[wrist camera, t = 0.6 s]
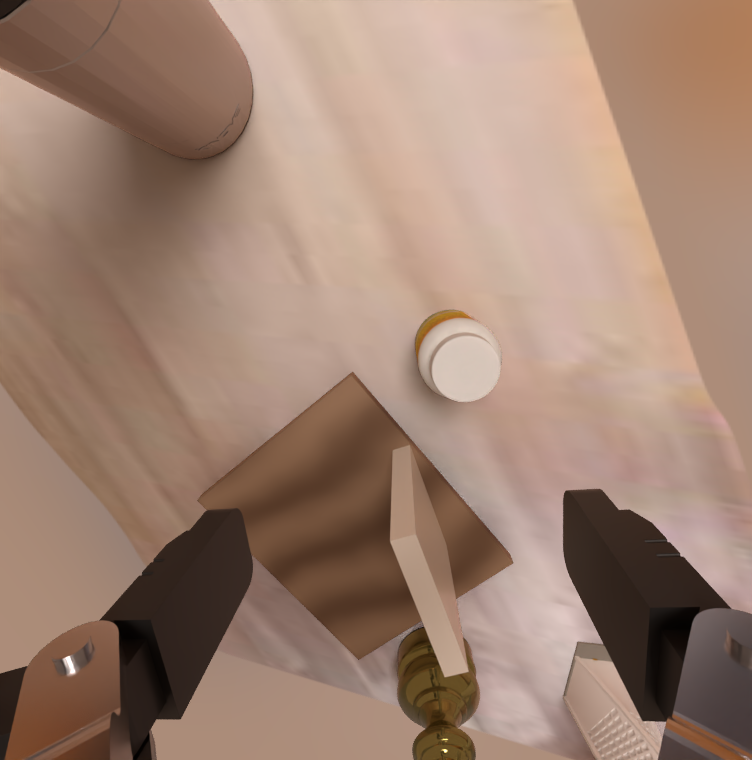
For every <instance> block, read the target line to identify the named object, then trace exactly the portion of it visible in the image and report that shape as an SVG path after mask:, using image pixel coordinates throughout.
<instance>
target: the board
mask: <svg viewBox="0 0 752 760" xmlns="http://www.w3.org/2000/svg"><path fill="white" fill-rule="evenodd" d="M408 445H410V447H411V449H412V452H413V455H414V457H415V460H416V463H417V466H418V468H419V471H420V474H421V477H422V479H423V482H424V485H425V487H426V490H427V493H428V496H429V498H430V501H431V504H432V507H433V509H434V512H435V515H436V518H437V520H438V523H439V526H440V528H441V531H442V534H443V537H444V539H445V542H446V545H447V550H448V556H449V562H450V568H451V573H452V579H453V585H454V590H455V596H456V599H457V598H458V597H460V596H461V595H463V594H465V593H466V592H468V591H469V590H471V589H473V588H474V587H476V586H477V585H479V584H481V583H482V582H484V581H485V580H487V579H489V578H490V577H492V576H493V575H495V574H497V573H498V572H500V571H501V570H503V569H505V568H506V567H508V566H509V565H511V564H513V561H512V558H511V555H510V554H509V552H508V551H507V550H506V549H505V548H504V547H503V545H502V544H501V543H500V542H499V541H498V540H497V538H496V537H495V536H494V535H493V534H492V533H491V532H490V530H489V529H488V528H487V527H486V526H485V525H484V523H483V522H482V521H481V520H480V519H479V518H478V516H477V515H476V514H475V513H474V512H473V511H472V509H471V508H470V507H469V506H468V505H467V504H466V503H465V501H464V500H463V499H462V498H461V497H460V496H459V494H458V493H457V492H456V491H455V490H454V489H453V487H452V486H451V485H450V484H449V483H448V482H447V481H446V479H445V478H444V477H443V476H442V475H441V474H440V472H439V471H438V470H437V469H436V468H435V467H434V465H433V464H432V463H431V462H430V461H429V460H428V459H427V457H426V456H425V455H424V454H423V453H422V452H421V450H420V449H419V448H418V447H417V446H416V445H415V443H414V442H413V441H412V440H411V439H410V438H409V437H408V435H407V434H406V433H405V432H404V431H403V430H402V428H401V427H400V426H399V425H398V424H397V423H396V421H395V420H394V419H393V418H392V417H391V416H390V414H389V413H388V412H387V411H386V410H385V409H384V408H383V406H382V405H381V404H380V403H379V402H378V401H377V399H376V398H375V397H374V396H373V395H372V394H371V392H370V391H369V390H368V389H367V388H366V387H365V386H364V384H363V383H362V382H361V381H360V380H359V379H358V377H357V376H356V375H355V374H354V373H353V372H352V373H350V374H349V375H348V376H347V377H346V378H344V379H343V380H342V381H341V382H339V383H338V384H337V385H336V386H334V387H333V388H332V389H331V390H330V391H328V392H327V393H326V394H325V395H323V396H322V397H321V398H320V399H319V400H317V401H316V402H315V403H314V404H312V405H311V406H310V407H309V408H307V409H306V410H305V411H304V412H303V413H301V414H300V415H299V416H298V417H296V418H295V419H294V420H293V421H291V422H290V423H289V424H288V425H287V426H285V427H284V428H283V429H282V430H280V431H279V432H278V433H277V434H275V435H274V436H273V437H272V438H271V439H269V440H268V441H267V442H266V443H264V444H263V445H262V446H261V447H259V448H258V449H257V450H256V451H255V452H253V453H252V454H251V455H250V456H248V457H247V458H246V459H245V460H244V461H242V462H241V463H240V464H239V465H237V466H236V467H235V468H234V469H232V470H231V471H230V472H229V473H228V474H226V475H225V476H224V477H223V478H221V479H220V480H219V481H218V482H216V483H215V484H214V485H213V486H212V487H210V488H209V489H208V490H207V491H205V492H204V493H203V494H202V495H201V496H200V498H199V499H198V500H197V501H198V502H199V503H200V504H201V505H202V506H203V507H204V508H205V509H206V510H211V509H230V508H238V509H239V510H240V511H241V513H242V515H243V519H244V524H245V528H246V533H247V537H248V542H249V547H250V551H251V554H252V555H253V556H254V557H255V558H256V559H257V560H258V561H259V562H260V563H261V564H262V565H263V566H264V567H265V568H266V569H267V570H268V571H269V572H270V573H271V574H272V575H273V576H274V577H275V578H276V579H277V580H278V581H279V582H280V583H281V584H282V585H283V586H284V587H285V588H286V589H287V590H288V591H289V592H290V593H291V594H292V595H293V596H294V597H295V598H297V599H298V600H299V601H300V602H301V603H302V604H303V605H304V606H305V607H306V608H307V609H308V610H309V611H310V612H311V613H312V614H313V615H314V616H315V617H316V618H317V619H318V620H319V621H320V622H321V623H322V624H323V625H324V626H325V627H326V628H327V629H328V630H329V631H330V632H331V633H332V634H333V635H334V636H335V637H336V638H337V639H338V640H339V641H340V642H341V643H342V644H343V645H344V646H345V647H346V648H347V649H348V650H349V651H350V652H351V653H352V654H353V655H354V656H355V657H356V658H357V659H358V660H359V659H361V658H362V657H364V656H366V655H367V654H369V653H370V652H372V651H374V650H375V649H377V648H378V647H380V646H382V645H383V644H385V643H386V642H388V641H390V640H391V639H393V638H394V637H396V636H398V635H399V634H401V633H402V632H404V631H406V630H407V629H409V628H410V627H412V626H414V625H415V624H417V623H418V622H420V621H422V620H421V617H420V615H419V612H418V610H417V607H416V605H415V602H414V600H413V597H412V595H411V592H410V590H409V587H408V585H407V582H406V580H405V577H404V575H403V572H402V570H401V567H400V565H399V562H398V560H397V557H396V555H395V552H394V550H393V547H392V545H391V542H390V524H391V490H392V457H393V450H395V449H398V448H401V447H405V446H408Z"/></svg>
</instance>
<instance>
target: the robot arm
mask: <svg viewBox="0 0 752 760" xmlns="http://www.w3.org/2000/svg"><path fill="white" fill-rule="evenodd" d="M0 68H1V69H3V70H5V71H7V72H9V73H11V74H13V75H15V76H17V77H19V78H21V79H23V80H25V81H27V82H29V83H31V84H33V85H35V86H37V87H39V88H41V89H43V90H45V91H47V92H49V93H51V94H53V95H55V96H57V97H59V98H61V99H63V100H65V101H67V102H69V103H71V104H73V105H75V106H77V107H79V108H81V109H83V110H85V111H87V112H89V113H91V114H93V115H95V116H97V117H98V118H100V119H102V120H104V121H106V122H108V123H110V124H112V125H114V126H116V127H118V128H120V129H122V130H124V131H126V132H128V133H130V134H132V135H134V136H136V137H138V138H140V139H142V140H144V141H146V142H148V143H150V144H152V145H154V146H156V147H158V148H160V149H162V150H164V151H166V152H168V153H170V154H172V155H175V156H178V157H182V158H186V159H203V158H207V157H212V156H214V155H216V154H218V153H220V152H222V151H224V150H225V149H227V148H228V147H229V146H230V145H231V144H233V143H234V142H235V140H236V139H237V138H238V136H239V135H240V134H241V132H242V131H243V129H244V127H245V125H246V122H247V120H248V118H249V114H250V110H251V106H252V93H253V87H252V79H251V72H250V69H249V66H248V63H247V59H246V57H245V55H244V53H243V51H242V49H241V47H240V45H239V43H238V42H237V40H236V39H235V38H234V36H233V35H232V33H231V32H230V30H229V29H228V28H227V26H226V25H225V23H224V22H223V21H222V19H221V18H220V16H219V15H218V14H217V12H216V11H215V9H214V7H213V6H212V5H211V3H210V2H209V0H0ZM563 551H564V558H565V563H566V567H567V570H568V573H569V576H570V578H571V580H572V582H573V584H574V586H575V588H576V590H577V592H578V594H579V596H580V598H581V600H582V602H583V604H584V606H585V608H586V610H587V612H588V614H589V616H590V618H591V620H592V622H593V624H594V626H595V628H596V630H597V632H598V634H599V636H600V638H601V640H602V642H603V644H604V646H605V648H606V650H607V652H608V654H609V656H610V658H611V660H612V662H613V664H614V666H615V668H616V670H617V672H618V674H619V676H620V678H621V680H622V682H623V684H624V686H625V688H626V690H627V692H628V694H629V696H630V698H631V700H632V702H633V704H634V706H635V708H636V710H637V712H638V714H639V716H640V718H641V720H642V721H663V722H666V726H665V730H664V734H663V738H662V743H661V747H660V752H659V756H658V760H752V614H750V613H746V612H743V611H739V610H734V609H731V608H730V607H729V606H728V605H727V603H726V602H725V601H724V600H723V599H722V598H721V597H720V596H719V595H718V594H717V593H716V592H715V590H714V589H713V588H712V587H711V586H710V585H709V584H708V583H707V582H706V581H705V580H704V579H703V578H702V576H701V575H700V574H699V573H698V572H697V571H696V570H695V569H694V568H693V567H692V566H691V565H690V563H689V562H688V561H687V560H686V559H685V558H684V557H681V556H680V553H679V552H678V550H677V549H676V548H675V547H674V546H673V545H672V544H671V543H670V542H667V539H666V538H665V536H664V535H663V534H662V533H661V532H660V531H659V530H658V529H657V528H656V527H655V526H654V525H653V523H651V522H650V521H648V520H646V519H645V518H643V517H641V516H639V515H638V514H636V513H634V512H633V511H631V510H618V508H617V507H616V506H615V505H614V504H613V502H612V501H611V500H610V499H609V498H608V496H607V495H606V494H605V493H604V492H603V491H602V490H601V489H586V490H567V491H565V493H564V498H563ZM252 572H253V562H252V556H251V551H250V547H249V542H248V537H247V533H246V528H245V524H244V519H243V515H242V513H241V511H240V510H239V509H238V508H230V509H211V510H207V511H206V512H205V513H204V514H203V515H202V516H201V518H200V519H199V520H198V521H197V522H196V523H195V525H194V526H193V527H192V528H191V529H190V530H189V531H185V532H184V533H182V534H181V535H180V536H178V537H177V538H175V539H174V540H172V541H171V542H170V543H168V544H167V545H166V546H165V547H164V548H163V549H162V551H161V552H160V553H159V554H158V555H157V556H156V557H155V558H154V562H152V563H150V564H149V565H148V566H147V567H146V569H145V570H144V571H143V572H142V576H139V577H138V578H137V579H136V580H135V581H134V582H133V583H132V584H131V585H130V587H129V588H128V589H127V590H126V591H125V592H124V593H123V595H122V596H121V597H120V598H119V599H118V600H117V601H116V602H115V604H114V605H113V606H112V607H111V608H110V609H109V610H108V611H107V612H106V614H105V615H104V616H103V617H102V618H101V619H100V620H99V621H94V622H89V623H85V624H82V625H80V626H77V627H75V628H73V629H71V630H69V631H67V632H65V633H63V634H61V635H60V636H58V637H57V638H55V639H54V640H52V641H51V642H50V643H49V644H47V645H46V646H45V647H44V648H43V649H42V650H41V651H39V653H38V654H37V655H36V656H35V657H34V658H33V659H32V661H31V662H30V663H29V665H28V666H26V667H22V668H19V669H15V670H11V671H8V672H5V673H1V674H0V760H157V759H156V748H155V741H154V738H153V735H152V731H151V728H152V726H153V724H154V722H155V720H156V719H181V717H182V716H183V714H184V711H185V710H186V708H187V706H188V704H189V702H190V700H191V698H192V696H193V694H194V692H195V690H196V688H197V686H198V684H199V683H200V681H201V679H202V676H203V675H204V673H205V671H206V669H207V667H208V665H209V663H210V661H211V659H212V657H213V655H214V653H215V651H216V650H217V648H218V646H219V644H220V642H221V640H222V638H223V636H224V634H225V632H226V630H227V628H228V626H229V624H230V622H231V621H232V619H233V617H234V615H235V613H236V611H237V609H238V607H239V605H240V603H241V601H242V599H243V597H244V595H245V593H246V591H247V589H248V587H249V585H250V582H251V578H252Z"/></svg>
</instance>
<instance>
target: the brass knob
mask: <svg viewBox="0 0 752 760" xmlns="http://www.w3.org/2000/svg"><path fill="white" fill-rule="evenodd" d="M463 642H464V648H465V653H466V659H467V665H468V670H469V672H466V673H462V674H457V675H453V676H449V677H444V674H443V672H442V669H441V667H440V664H439V662H438V659H437V657H436V654H435V652H434V649H433V647H432V644H431V642H430V639H429V637H428V634H427V632H426V629H425V628H422V629H419V630H416V631H414V632H413V633H411V634H410V635H408V636H407V637H406V638H405V639H404V641H403V642H402V644H401V645H400V648H399V652H398V669H397V676H398V680H399V682H398V688H397V696H398V701H399V704H400V706H401V708H402V710H403V711H404V713H405V714H406V715H407V716H408V717H409V718H410V719H411V720H412V721H414V722H415V723H417V724H418V725H420V726H422V727H424V728H425V730H424V731H422V732H421V733H420V734H419V735H418V736H417V737H416V739H415V741H414V743H413V748H412V751H413V752H412V753H413V758H414V760H475V757H476V754H475V746H474V743H473V741H472V740H471V738H470V737H469V736H468V735H467V734H466V733H465V732H463V731H462V730H460V729H458V727H459V726H461V725H462V724H463V723H465V722H466V721H468V720H469V719H470V718H471V717H472V716H473V714H474V713H475V711H476V710H477V708H478V705H479V701H480V689H479V685H478V682H477V679H476V668H475V665H474V662H473V657H472V652H471V648H470V646H469V644H468V643H467V641H466V640H465V639H464V638H463Z"/></svg>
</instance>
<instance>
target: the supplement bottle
mask: <svg viewBox="0 0 752 760" xmlns="http://www.w3.org/2000/svg"><path fill="white" fill-rule="evenodd" d="M415 348H416V355H417V361H418V368H419V371H420V374H421V376H422V378H423V380H424V381H425V383H426V384H427V385H428V387H429V388H430V389H432V390H433V391H434V392H436V393H437V394H439V395H441V396H443V397H446V398H449V399H451V400H454V401H457V402H472V401H476V400H479V399H481V398H483V397H484V396H486V395H487V394H488V393H489V392H490V391H491V390H492V389H493V388H494V387H495V385H496V383H497V381H498V379H499V376H500V369H501V363H502V352H501V347H500V344H499V342H498V340H497V338H496V336H495V335H494V333H493V332H492V331H491V330H490V329H489V328H488V327H487V326H485V325H484V324H482V323H481V322H479V321H478V320H476V319H475V318H473V317H472V316H470V315H468V314H467V313H465V312H462V311H458V310H444V311H440V312H437V313H435V314H433V315H431V316H430V317H428V318H427V319H426V320H425V321H424V322H423V323H422V324H421V326H420V328H419V330H418V332H417V335H416V340H415Z"/></svg>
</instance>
